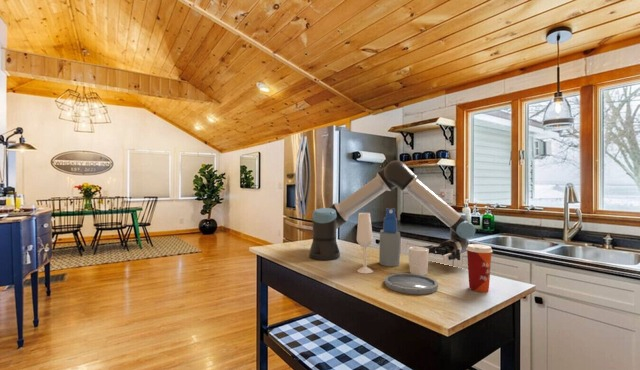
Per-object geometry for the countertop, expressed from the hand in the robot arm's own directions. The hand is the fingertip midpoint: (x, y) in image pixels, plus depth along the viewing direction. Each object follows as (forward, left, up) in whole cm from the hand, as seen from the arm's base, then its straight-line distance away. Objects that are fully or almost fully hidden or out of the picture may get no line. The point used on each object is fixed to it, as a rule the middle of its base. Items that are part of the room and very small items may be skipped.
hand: (428, 256), depth 133 cm
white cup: (+3, -6, -6) cm, 9 cm away
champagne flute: (-5, -26, -6) cm, 27 cm away
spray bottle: (-13, -11, -6) cm, 18 cm away
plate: (+16, -17, -6) cm, 24 cm away
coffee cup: (+25, +4, -6) cm, 26 cm away
